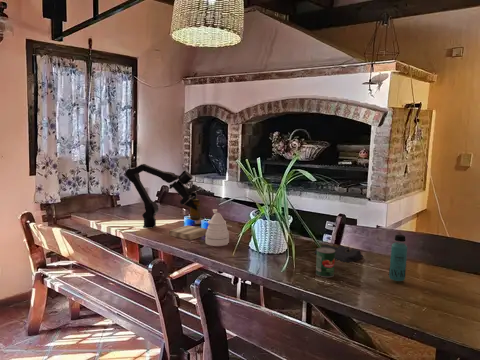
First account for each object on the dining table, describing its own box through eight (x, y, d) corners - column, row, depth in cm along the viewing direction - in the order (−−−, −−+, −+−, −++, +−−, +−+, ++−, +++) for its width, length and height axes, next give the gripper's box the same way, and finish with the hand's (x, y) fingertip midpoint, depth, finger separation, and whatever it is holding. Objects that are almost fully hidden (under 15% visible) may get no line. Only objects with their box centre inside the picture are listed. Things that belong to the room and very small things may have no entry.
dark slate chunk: (328, 248, 223) (328, 239, 222) (365, 258, 207) (366, 248, 207) (311, 254, 212) (311, 245, 211) (349, 264, 197) (350, 255, 196)
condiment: (197, 216, 260) (197, 198, 258) (204, 219, 254) (204, 200, 252) (187, 218, 256) (186, 199, 254) (194, 221, 249) (194, 201, 247)
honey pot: (200, 242, 228) (200, 210, 225) (217, 238, 237) (217, 207, 235) (216, 247, 219) (217, 213, 217) (233, 242, 228) (234, 210, 226)
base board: (169, 235, 241) (169, 230, 240) (187, 230, 254) (187, 225, 253) (190, 240, 232) (190, 234, 231) (208, 234, 245) (208, 229, 245)
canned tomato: (321, 269, 187) (322, 246, 186) (337, 274, 182) (338, 249, 181) (312, 274, 181) (313, 250, 180) (328, 279, 176) (330, 253, 175)
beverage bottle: (385, 279, 177) (388, 233, 175) (400, 278, 178) (404, 233, 175) (392, 284, 171) (395, 237, 168) (408, 284, 172) (411, 237, 169)
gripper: (185, 182, 244) (203, 202, 243) (194, 178, 262) (211, 197, 261) (172, 195, 246) (190, 214, 246) (182, 190, 264) (198, 208, 264)
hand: (198, 208), depth 254 cm, fingers closed on condiment, 6 cm apart
